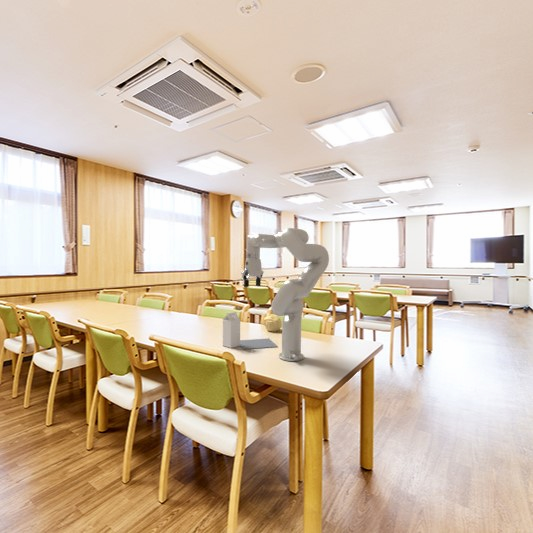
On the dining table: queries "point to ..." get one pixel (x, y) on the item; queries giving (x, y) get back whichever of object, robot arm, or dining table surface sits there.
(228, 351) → the dining table surface
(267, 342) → the back mat
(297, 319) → the robot arm
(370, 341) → the dining table surface
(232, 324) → the milk carton
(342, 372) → the dining table surface
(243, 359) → the dining table surface
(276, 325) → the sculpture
